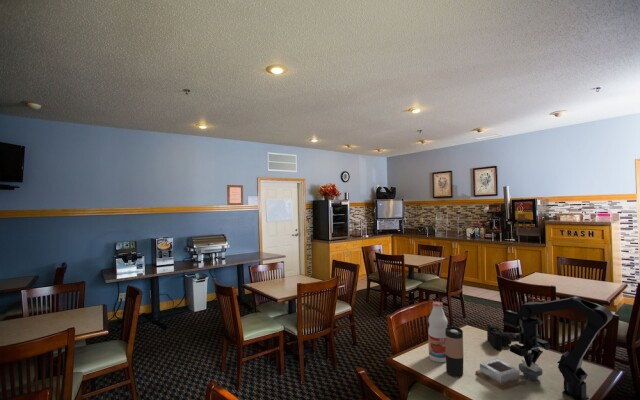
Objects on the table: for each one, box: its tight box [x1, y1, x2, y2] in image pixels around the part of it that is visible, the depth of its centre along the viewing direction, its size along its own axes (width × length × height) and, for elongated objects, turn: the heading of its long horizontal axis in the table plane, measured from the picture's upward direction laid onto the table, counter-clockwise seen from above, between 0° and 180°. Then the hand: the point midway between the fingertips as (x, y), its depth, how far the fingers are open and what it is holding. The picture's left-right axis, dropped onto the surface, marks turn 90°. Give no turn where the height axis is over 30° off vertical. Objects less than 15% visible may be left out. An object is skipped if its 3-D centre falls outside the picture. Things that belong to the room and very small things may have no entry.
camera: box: [486, 323, 513, 352], centre depth 177 cm, size 14×11×10 cm
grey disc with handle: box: [518, 358, 544, 382], centre depth 146 cm, size 9×9×7 cm
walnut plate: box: [475, 369, 526, 391], centre depth 146 cm, size 14×13×1 cm
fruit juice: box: [427, 301, 449, 363], centre depth 164 cm, size 9×9×28 cm
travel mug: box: [445, 326, 464, 378], centre depth 150 cm, size 8×8×20 cm
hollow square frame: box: [479, 358, 521, 385], centre depth 146 cm, size 11×11×4 cm
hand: (530, 366), depth 146 cm, fingers closed on grey disc with handle
